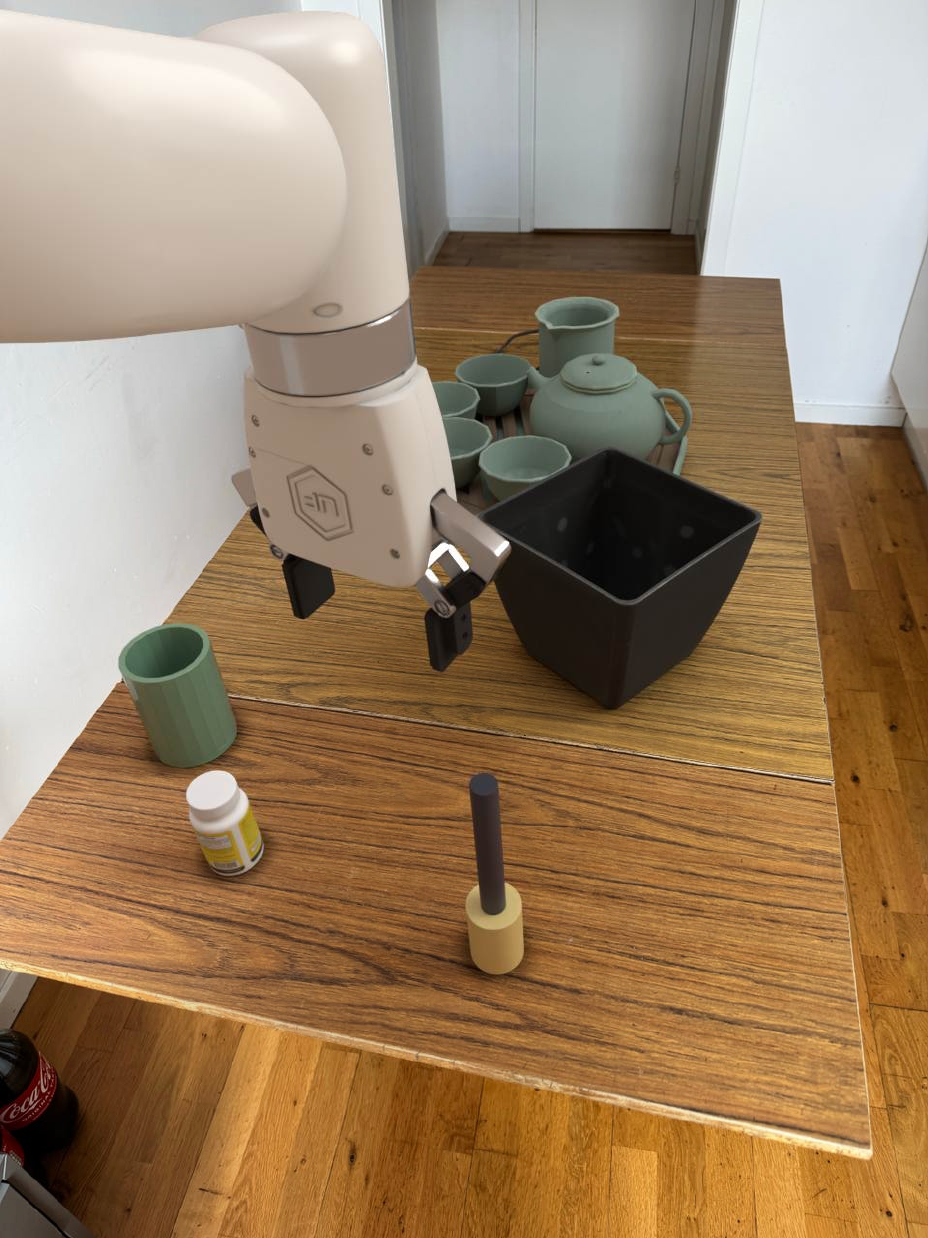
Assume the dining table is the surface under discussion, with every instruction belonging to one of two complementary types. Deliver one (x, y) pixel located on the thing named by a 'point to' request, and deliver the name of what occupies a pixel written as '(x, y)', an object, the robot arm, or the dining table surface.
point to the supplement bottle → (224, 823)
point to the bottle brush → (492, 888)
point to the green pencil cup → (179, 694)
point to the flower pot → (617, 569)
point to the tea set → (554, 407)
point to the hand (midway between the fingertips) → (380, 629)
